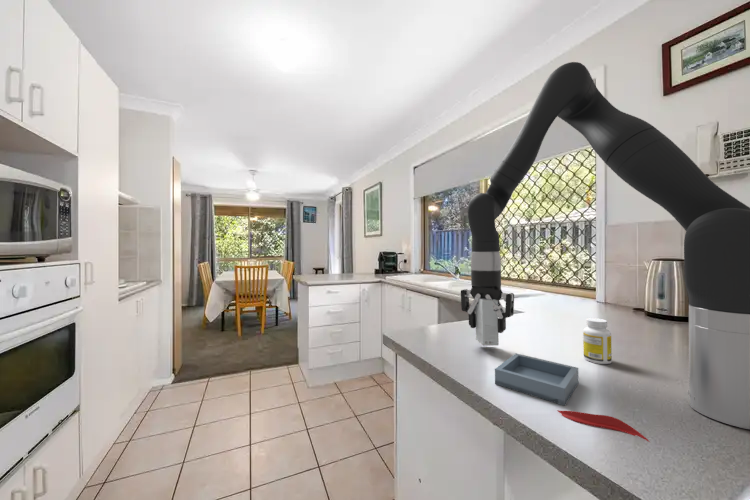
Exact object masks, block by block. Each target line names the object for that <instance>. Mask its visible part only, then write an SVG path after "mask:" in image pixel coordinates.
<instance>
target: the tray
mask: <svg viewBox="0 0 750 500" xmlns="http://www.w3.org/2000/svg"><path fill="white" fill-rule="evenodd" d="M494 384H495V385H496V386H500V387H503V388H507V389H510V390H513V391H515V392H519V393H522V394H525V395H529V396H533V397H535V398H539V399H542V400H545V401H549V402H551V403H555V404H558V405H560V406H564V407H566V405H567V403H568V401H569V400H570V398H571V397H572V395H573V393H574V391H575V390H576V387H577V386H578V384H579V367H576V366H572V365H568V364H564V363H559V362H555V361H550V360H546V359H542V358H539V357H533V356H528V355H524V354H521V353H514V354H513V355H511V356H510V357H509V358H508V359H506V360H505V361H503V362H502V363H501V364H499V365H498V366H497V367H495V368H494Z"/></svg>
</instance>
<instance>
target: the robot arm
mask: <svg viewBox="0 0 750 500" xmlns="http://www.w3.org/2000/svg"><path fill="white" fill-rule="evenodd" d="M596 85H597V84H596V83H595V81H594V79H593V78H592V75H591V73H590V71H589V70H588V68H587V67H586V65H585V64H583V63H581V62H578V61H576V62H575V61H571V62H567V63H564V64H562V65H561V66H559V67H557V68H556V69H555V70H553V71H552V72H551V74H550V75H549V76H548V77H547V79H546V80H545V82H543V85H542V87H541V89H540V91H539V93H538V95H537V96H536V99H535V100H534V103H533V105H532V107H531V109H530V111H529V113H528V114H527V116H526V119H525V120H524V123H523V124H522V126H521V128H520V130H519V132H518V133H517V135H516V137H515V139H514V141H513V143H512V144H511V145H510V147H509V149H508V150H507V151H506V153H505V155H504V156H503V157H502V159H501V161H500V162H499V164H498V165H497V166H496V168H495V170H493V172H492V174H491V176H490V178H489V181H490V184H489V186H488V188H487V190H486V192H481V193H477V194H474V195H473V196H472V197H471V198H470V199H469V202H468V205H467V218H468V224H469V229H470V232H471V257H470V258H471V259H470V270H471V271H470V273H471V274H470V278H471V279H470V280H471V282H470V283H471V289H468V288H464V289H461V290H460V303H461V304H460V306H461V311H463V312H465V313H467V314H468V325H469V326H470V328H471V329H476V311H475V308H477V304H478V302H479V299H480V298H483V299H488V300H493V299H494V300H498V306H497V305H496V303H495V302H494V301H493V310H494V311H496V314H497V316H498V334H503V333H504V331H506V329H507V321H506V320H507V318H510V317H513V316H514V314H515V313H514V310H515V308H514V307H515V294H514V293H513V292H510V293H507V292H503V291H502V266H501V265H502V261H501V253H500V250H501V249H500V235H499V232H498V231H497V229H496V219H497V218H498V217H500V215H501V214H502V212H504V210H505V209H506V207H507V205H508V203H509V202H510V200H511V198H512V195H513V193H514V191H515V190H516V189H517V187H519V185H520V183H521V182H522V181H523V179H524V178H525V177H526V175H528V173H529V171H530V170H531V168H532V167H533V165H534V163H535V161H536V158H537V156H538V154H539V152H540V149H541V146H542V143H543V141H544V139H545V137H546V135H547V133H548V130H550V127H551V126H552V124H553V123H554V121H555V120H556V118H559V119H561V120H562V121H564V122H565V123H566V124H568V125H569V126H570V127H571V128H573V129H575V130H576V131H578V133H580V134H581V135H582V136H583V137H584V138H585V139H586V141H587V142H588V143H589V146H590V147H591V149H593V150H594V152H595V153H596V154H597V155H598V157H599V158H600V159H601V160H602V161H603V162H604V164H606V166H607V167H608V168H610V170H611V171H613V173H615V175H617V177H618V178H620V179H621V180H622V181H623V182H625V183H626V184H627V185H628V186H630V187H631V188H633V189H634V190H636V191H637V192H638V193H640V194H641V195H643V196H645V197H646V198H648V199H649V200H650V201H652V202H654V203H655V204H657V205H658V206H660V207H661V208H663V209H664V210H665V211H667V212H668V213H669V214H670V215H671V216H672V217H673V219H675V220H676V221H677V222H678V224H679V225H680V226H681V227H682V229H684V230H685V234H684V239H683V260H684V261H683V264H684V285H685V288H686V292H687V296H688V392H687V393H688V404H689V406H690V408H692V409H693V410H695V411H696V412H697V413H700V414H701V415H703V416H705V417H708V418H710V419H712V420H715V421H718V422H720V423H723V424H727V425H730V426H733V427H737V428H740V429H746V430H750V206H748V205H746V204H745V203H743V202H742V201H740V200H738V199H737V198H735V197H734V196H732V195H731V194H730V193H728V192H727V191H725V190H723V189H722V188H721V187H720V186H718V185H717V184H716V183H715V182H713V181H712V180H711V179H710V178H709V177H708V176H707V175H706V174H705V173H704V172H703V170H702V169H700V167H699V166H698V165H697V164H696V162H694V161H693V160H692V159H691V158H690V156H688V154H686V153H685V152H684V151H683V150H682V148H680V147H679V146H678V145H677V144H675V142H674V141H672V140H671V139H670V138H669V137H668V136H666V135H665V134H664V133H662V131H660V130H658V129H657V127H655V126H653V125H652V124H650V123H649V122H647V121H646V120H644V119H642V118H639V117H637V116H635V115H633V114H629V113H626V112H624V111H621V110H620V109H618V108H616V107H615V106H614V105H613V104H612V103H611V102H610V101H609V100H608V99H607V98H606V97H605V96H604V95H603V93H602V92H600V90H599V89H598V87H597V86H596ZM470 297H472V298H473V300H472V302H471V304H470ZM501 299H503V301H504V302H505V310H504V308H503V305H502V303H501V302H500V300H501Z"/></svg>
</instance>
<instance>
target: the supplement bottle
mask: <svg viewBox="0 0 750 500" xmlns="http://www.w3.org/2000/svg"><path fill="white" fill-rule="evenodd" d="M586 325H587V326H586V327H584V328H583V331H582V333H583V334H582V336H583V337H582V338H583V340H582V341H583V346H582V347H583V358H584V359H585V361H588V362H590V363H594V364H599V365H609V364H611V363H612V360H613V359H612V354H613V353H612V332H611V330H609V329H607V327H608V320H606V319H602V318H598V317H597V318H595V317H594V318H593V317H589V318H588V317H587V318H586Z"/></svg>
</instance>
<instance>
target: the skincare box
mask: <svg viewBox="0 0 750 500" xmlns="http://www.w3.org/2000/svg"><path fill="white" fill-rule="evenodd" d="M493 301H494V302H495V303H496V305H497V306H498V300H494V299H493V300H488V299H483V298H480V299H479V302H478V304H477V308H475V311H476V312H475V314H476V327H475V340H476V341H477V342H478V343H480V344H481V345H482V346H489V347H490V346H499V345H500V344H499V333H498V318H499V317H498V316H497V314H496V311H494V310H493Z"/></svg>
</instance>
